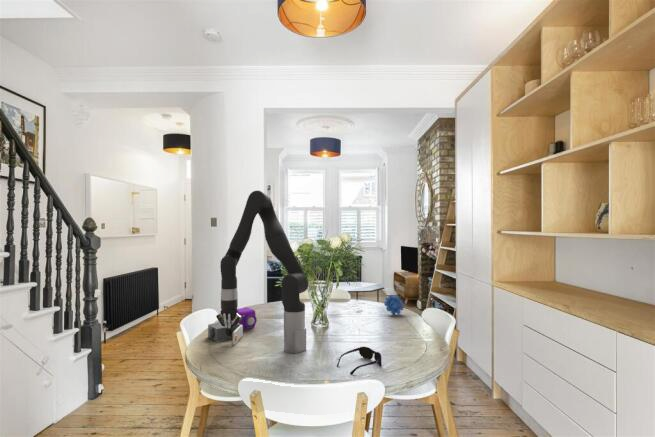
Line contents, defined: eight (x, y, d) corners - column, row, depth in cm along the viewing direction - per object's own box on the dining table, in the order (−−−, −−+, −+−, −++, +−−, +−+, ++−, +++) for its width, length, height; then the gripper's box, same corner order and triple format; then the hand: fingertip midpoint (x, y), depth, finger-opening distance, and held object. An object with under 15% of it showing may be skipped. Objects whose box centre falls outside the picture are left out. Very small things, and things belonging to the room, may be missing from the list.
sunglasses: (386, 367, 134) (386, 354, 134) (355, 378, 125) (355, 364, 125) (363, 356, 145) (363, 344, 145) (332, 365, 136) (332, 352, 136)
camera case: (240, 336, 170) (240, 322, 170) (214, 342, 161) (214, 328, 161) (231, 331, 177) (231, 318, 177) (205, 337, 168) (205, 323, 168)
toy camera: (246, 332, 175) (246, 313, 176) (229, 328, 184) (229, 309, 184) (262, 327, 184) (262, 308, 184) (245, 323, 192) (245, 305, 192)
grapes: (385, 316, 206) (385, 296, 206) (383, 313, 213) (383, 293, 213) (405, 316, 206) (404, 296, 206) (402, 313, 213) (402, 293, 213)
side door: (243, 335, 170) (243, 324, 170) (236, 344, 158) (236, 332, 158) (240, 335, 170) (240, 324, 170) (232, 344, 158) (232, 332, 158)
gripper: (246, 297, 162) (246, 334, 162) (221, 295, 166) (221, 332, 166) (237, 300, 155) (237, 339, 155) (212, 298, 159) (211, 336, 159)
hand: (229, 335), depth 160 cm, fingers closed
